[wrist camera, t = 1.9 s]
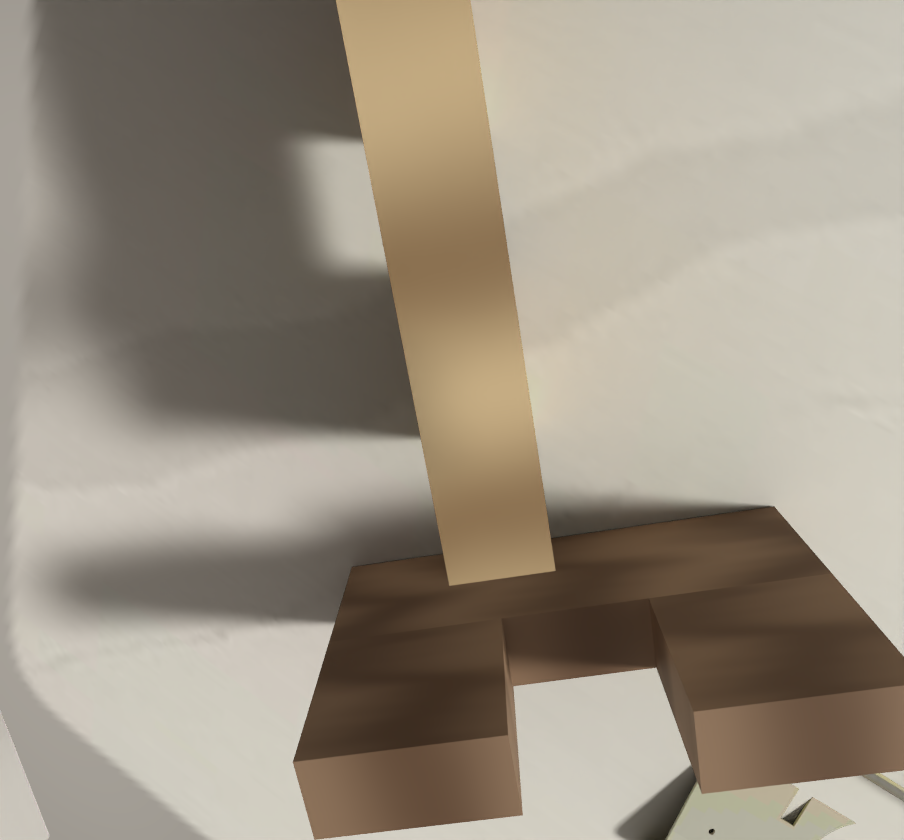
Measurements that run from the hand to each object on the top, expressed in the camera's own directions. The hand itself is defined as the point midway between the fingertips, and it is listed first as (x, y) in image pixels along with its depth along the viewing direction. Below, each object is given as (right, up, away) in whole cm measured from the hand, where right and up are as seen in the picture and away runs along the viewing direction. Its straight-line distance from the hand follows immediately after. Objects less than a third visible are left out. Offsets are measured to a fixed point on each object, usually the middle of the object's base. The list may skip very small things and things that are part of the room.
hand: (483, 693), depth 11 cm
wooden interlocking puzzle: (0, +10, +15) cm, 18 cm away
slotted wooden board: (+4, -2, +18) cm, 19 cm away
